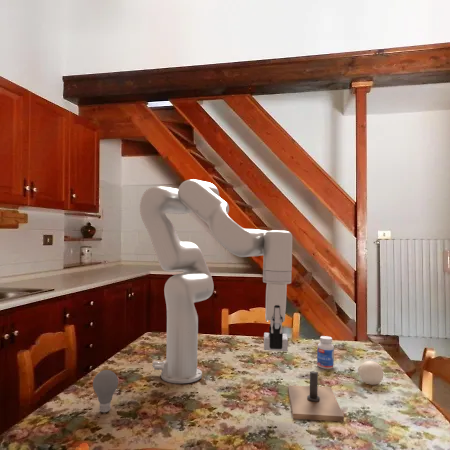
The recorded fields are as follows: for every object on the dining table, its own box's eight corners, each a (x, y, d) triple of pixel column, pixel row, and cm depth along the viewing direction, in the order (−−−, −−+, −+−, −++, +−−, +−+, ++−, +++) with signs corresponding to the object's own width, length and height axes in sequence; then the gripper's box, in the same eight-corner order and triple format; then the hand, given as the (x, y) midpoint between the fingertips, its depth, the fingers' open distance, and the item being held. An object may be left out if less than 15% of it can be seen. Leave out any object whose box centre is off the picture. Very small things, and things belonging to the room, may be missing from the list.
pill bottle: (315, 367, 134) (316, 338, 135) (318, 363, 139) (318, 334, 140) (332, 370, 132) (333, 340, 133) (334, 365, 137) (335, 336, 138)
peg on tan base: (293, 418, 97) (293, 384, 97) (287, 389, 115) (288, 360, 115) (343, 421, 96) (344, 386, 96) (330, 391, 114) (331, 362, 114)
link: (264, 350, 104) (264, 338, 104) (263, 343, 110) (264, 332, 110) (287, 351, 104) (287, 339, 104) (286, 344, 110) (286, 333, 110)
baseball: (361, 377, 126) (361, 356, 126) (385, 383, 122) (386, 360, 122) (354, 384, 120) (354, 361, 120) (379, 390, 116) (380, 366, 116)
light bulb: (103, 419, 95) (104, 376, 95) (86, 412, 98) (87, 371, 98) (122, 410, 100) (123, 369, 100) (105, 404, 103) (106, 365, 104)
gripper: (262, 273, 116) (261, 335, 116) (263, 280, 99) (261, 354, 99) (289, 273, 115) (287, 337, 115) (294, 281, 98) (292, 355, 98)
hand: (275, 344), depth 107 cm, fingers closed on link, 6 cm apart
